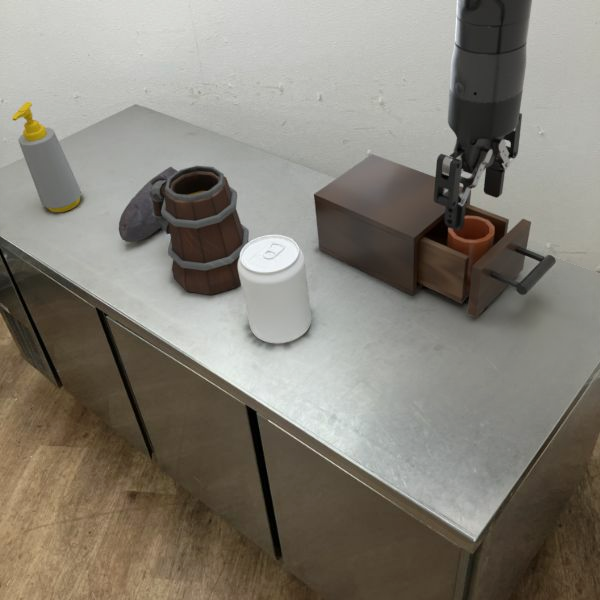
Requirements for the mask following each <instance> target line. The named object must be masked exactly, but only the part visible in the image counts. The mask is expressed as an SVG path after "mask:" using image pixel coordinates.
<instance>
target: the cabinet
mask: <svg viewBox="0 0 600 600" xmlns="http://www.w3.org/2000/svg"><path fill="white" fill-rule="evenodd" d="M434 188H435V175H431V174H428V173H426V172H423V171H420V170H417V169H415V168H412V167H409V166H406V165H404V164H401V163H398V162H395V161H393V160H390V159H387V158H384V157H382V156H378V155H376V154H373V153H371V154H370V155H368V156H367V157H365V158H363V160H361V161H359V162H358V163H356V164H355V165H354V166H353V167H351V168H349V169H348V170H347V171H345V172H344V173H342V174H341V175H340V176H338V177H336V178H335V179H333V180H332V181H331V182H330V183H327V184H326V185H325V186H323V187H322V188H320V189H319V190H318V191H316V192H314V194H313V198H314V209H315V210H314V211H315V219H316V231H317V240H318V250H319V251H321V252H322V253H325V254H327V255H329V256H331V257H333V258H335V259H336V260H339V261H340V262H343V263H345V264H347V265H349V266H351V267H353V268H355V269H357V270H359V271H361V272H363V273H365V274H367V275H369V276H371V277H372V278H375V279H377V280H379V281H381V282H384V284H387V285H389V286H392V287H394V288H395V289H397V290H400V291H401V292H403V293H405V294H407V295H410V296H411V297H413V296H415V295H416V294H417V293H418V292H419V291H421V289H422V288H423V287H425V286H424V285H422V284H420V283H418V282H417V259H418V240H419V239H420V238H421V237H422V236H423V235H425V234H426V233H427V232H428V231H429V230H431V229H432V228H433V227H434V226H435V225H437V224H438V223H439V222H440V221H441V220H442V219H444V218H445V207H446V206H443V205H440V204H438V203H435V202H434ZM462 188H463V186H462V185H460V187H459V194H460V193H461V190H462ZM444 191H445V188H444ZM444 191H443V193H444ZM471 195H472V189H471V190H470V192H469V195H468V197H467V200H466V202H465V203H467V204H470V205H471V198H472V197H471Z"/></svg>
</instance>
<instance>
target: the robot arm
mask: <svg viewBox="0 0 600 600" xmlns="http://www.w3.org/2000/svg"><path fill="white" fill-rule="evenodd" d="M532 5H533V0H456V15H455V31H454V46H453V51H452V56H451V62H450V73H449V74H450V75H449V88H448V89H449V91H448V92H449V93H448V106H447V107H448V109H447V125H448V126H449V128H450V130H451V131H452V132H453V133H454V135H455V137H456V141H455V145H454V147H453V151H452V153H450V154H449V155H448V154H443V153H439V155H438V156H437V158H436V166H435V175H434V177H435V188H434V202H435V203H438V204H440V205H443V206H446V207H445V225H446V226H447V227H449V228H452V229H454V230H457V231H460V230H461V229H462V228H463V227H464V220H465V209H466V203H465V202H466V200H467V197H468V195H469V192H470V190H471V191H472V189H474V188H476V187H477V186H478V184H479V183H480V182H479V181H480V179H481V177H482V174H483V172H484V171H485V174H484V183H483V193H484V194H485V195H487V196H490V197H493V198H496V199H497V198H499V197H501V195H502V194H503V190H504V189H503V188H504V182H505V175H506V170H508V168H509V167H510V164H511V161H510V160H511V159H513V160H514V159H516V158H517V156H518V154H519V149H520V148H519V147H520V137H521V130H522V121H523V120H522V119H523V113H521V112H520V111H521V106H522V98H523V91H524V83H525V76H526V69H527V43H528V34H529V27H530V20H531V12H532ZM506 141H507V142H510V145H509V146H508V145H506V144H507V143H506ZM463 172H464V173H467V174H470V175H471V176H470V177H465V176H462V174H463ZM461 185H462V187H463V188H462V190H461V193H460V194H459V187H460V186H461ZM444 188H445V191H444ZM443 191H444V193H443Z"/></svg>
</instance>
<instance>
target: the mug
mask: <svg viewBox="0 0 600 600" xmlns="http://www.w3.org/2000/svg"><path fill="white" fill-rule="evenodd" d="M177 171H178V172H176V173H175V174H174V175H172V176H171V177H169V178H168V180H167V181H166V180H164V181H162V180H160V181H157V182H156V183H154V184H153V185H152V187H151V191H150V194H149V197H150V198H151V199H152V201H153V207H154V211H153V214H152V215H153V217H154V219H155V221H156V222H157V224H158V225H159V226H160V227H161V228H160V229H161V230H162V231H163V232H164V233H165V234H166V235H170V240H169V244H168V248H167V255H168V256H169V257H170V258H171V259H172V265H171V272H172V275H173V278H174V280H175V281H176V282H177V283H178V284H179V285H180V286H181V287H182V288H183V289H184V290H185V291H186V292H189V293H197V294H204V295H211V296H213V295H214V294H219V293H222V292H225V291H229V290H232V289H235V288H238V287H239V286H241V282H240V277H239V272H238V260H239V258H240V252H241V250H242V248H243V247H244V246H245V245H246V244H247V243H248V242H250V241H249V236H250V231H249V229H248V228H247V227H246V226H245V225H243V224H242V222H241V219H240V217H239V213H238V210H237V203H238V191H236V190H235V189H234V188H233V187H231V186H230V185H229V182H228V179H227V177H226V176H225V174H224V173H223V172H221V171H220V170H219V169H217V168H216V167H214V166H211V165H210V166H209V165H194V166H190V167H185V168H182V169H179V170H177Z"/></svg>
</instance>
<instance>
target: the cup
mask: <svg viewBox="0 0 600 600" xmlns="http://www.w3.org/2000/svg"><path fill="white" fill-rule="evenodd" d="M494 228H495V227H494V226H493V225H492V223H491V222H490V221H489V220H487V219H484V218H482V217H479V216H465V220H464V227H463V228H462V229H461V230H460V231H457V230H454V229H452V228H449V227H448V239H447V247H449V248H451V249H453V250H456V251H458V252H460V253H463V254H465V255H467V256H469V263H468V273H467V282H466V285H471V276H472V267H473V265H474V264H475V263H476V262H477V261H478V260H479V259H480V258H482V257H483V256H484V255H485V254H486V253H487V252H488V251H489V250H490V249H491V248H492V247H493V240H494Z"/></svg>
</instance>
